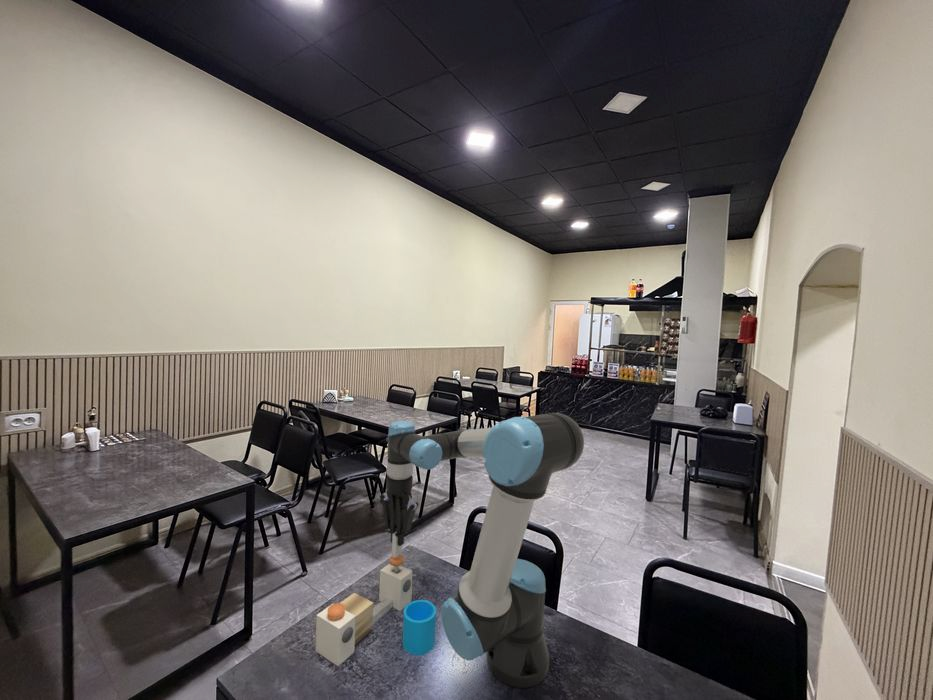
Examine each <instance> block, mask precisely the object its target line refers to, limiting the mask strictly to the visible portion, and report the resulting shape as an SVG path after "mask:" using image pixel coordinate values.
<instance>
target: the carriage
mask: <svg viewBox="0 0 933 700" xmlns="http://www.w3.org/2000/svg"><path fill="white" fill-rule="evenodd" d="M339 603H341V604H343V605H344V606H345V610H346V611H348V612H349V613H351V614H353V615H355V616H356V618H355V645H357V643H359V642H360V641H361V640H362V639H363V638H364V637H366V636H367V635H368V634H369V633H370V632H371V627H373V625H374V624H373V608H374V602H373V601H371V600H369V599H368V598H366V597H363V596H361V595H360V594H358V593H356V592H353V593H352V594H350V595H348V596H347V597H346V598H345V599H343V600H342V601H340V602H339Z"/></svg>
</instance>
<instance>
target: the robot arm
mask: <svg viewBox="0 0 933 700" xmlns="http://www.w3.org/2000/svg"><path fill="white" fill-rule="evenodd" d="M584 437H585V436H584V434H583V431H582V429H581V428H580V426H579V424H578V423H577V422H576V421H575V420H574V419H573V418H571V417H570V416H569V415H567V414H563V413H559V412H547V413H544V414H543V413H542V414H537V415H531V416H529V415H528V416H514V417H511V418H508V419H506V420H501V421H500V422H498V423H496V424H495V425H493V426H492V427H486V428H475V429H474V428H473V429H461V430H460V429H459V430H455V431H449V432H443V433H442V432H441V433H436V434H430V435H424V436H423V435H419V434H417V433H416V427H415V423H413V422H412V421H408V420H407V421H406V420H399V421H398V420H397V421H393V422H391V423H390V424H389V425H388V434H387V463H386V464H387V465H386V475H387V476H386V481H385V482H386V483H385V484H386V485H385V486H386V492H384V493H382V494H381V495H379V498H380V501H381V504H382V512H383V520H384V527H385V529H386V530H389V532H390V543H391V556H393V557H395V558H396V557H397V556H399V555H402V553H403V545H404V543H405V535H407V534H409V533H411V529H412V525H413V521H414V517H415V513H416V510H417V508H418V507H419V502H417V501H416V502H415V501H414V499H413V495H412V490H413V481H414V480H413V477H414V476H413V474H414V466H415V467H416V468H420V469H423V470H433V469H434V468H435V467H436V466H438V465H439V464H440V463H441V462H443V461H448V460H453V459H460V458H465V459H466V458H483V459H484V460H485V462H484V463H483V465H484V468H485V471H486V473H487V475H488V476H487V477H488V480H489V481H490V483H491V485H492V489H491V492H490V497H489V501H488V504H487V507H486V511H485V515H484V519H483V521H482V526H481V529H480V533H479V537H478V540H477V545H476V548H475V552H474V556H473V560H472V562H471V567H470V570H468V571H467V572H466V573H465V574H463V576H462V577H461V578H460V580H459V585H458V586H457V591H456V592H457V593H456V594H455V595H454V596H453V597H449V598H448V599H446V601H444V602H443V604H442V606H441V615H440V616H441V622H442V627H443V630H444V634H445V636H446V639H447V641H448V642H449V644H450V646H451V648H452V649H453V651H454V652H455V654H456V655H457V656H458V657H459V658H461V659H463V660H465V661H470V662H471V661H473V660H475V659H477V658H479V657H482V656H483V655H485V654H486V655H485V656H486V657H485V658H486V665H487V667H488V668H489V670H490V671H491V673H492V675H493V676H494V677H496V679H498V680H499V681H501V682H503V683H504V684H507V685H508V686H511V687H514V688H515V687H516V688H531V687H534V686H537V685H538V684H540V683H541V682H543V681H544V680H545V679H546V677H547V675H548V673H549V671H550V670H549V669H550V653H549V649H548V646H547V641H546V637H545V634H544V619H545V618H544V617H545V599H546V592H547V589H546V577H545V575H544V574H545V573H544V572H543V571H542V569H541V568H539V566H537V565H536V564H534V563H533V562H530V561H528V560H526V559H521V558H518V556H519V553H520V550H521V547H522V544H523V540H524V537H525V533H526V530H527V527H528V523H529V520H530V516H531V514H532V512H533V506H534V504H535V501H537V500H540V499H542V498H543V497H544V496H545V495H546V492H547V488H548V486H549V483H550V479H551V477H552V475H553V474H554V473H557V472H560V471H563V470H566V469H568V468H571V467H572V466H573V465H574V464H576V463H577V462H578V461H579V460H580V458H581V457H582V454H583V451H584V449H585V447H584V446H585V439H584Z"/></svg>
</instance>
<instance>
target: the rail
mask: <svg viewBox="0 0 933 700" xmlns="http://www.w3.org/2000/svg"><path fill="white" fill-rule="evenodd" d="M392 608H393V600H391V599H389V598H387V597H386V598H385V599H384V600H383V601H379V602H378V603H377V604H376V605H375V606H373V625H374V624H375V623H376V622H377V621H379V619H380V618H382V617H383V616H384V615H386V614H387V613H388V612H389V611H390V610H391V609H392Z"/></svg>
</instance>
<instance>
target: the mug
mask: <svg viewBox="0 0 933 700" xmlns="http://www.w3.org/2000/svg"><path fill="white" fill-rule="evenodd" d="M436 618H437V608H436V606H435V605H434V604H433V602H431V601H429V600H428V599H425V600H424V599H418V600H413V601H411V602H410V603H409V604H408V605H406V606H405V607H404V608H403V619H402V621H403V624H402V625H403V626H402V647H403V649H404V651H405V652H406V653H408V654H409V655H414V656H422V655H425V654H427V653H429V652H430V651H431V650H432V649H433V648H434V646H435V643H436V623H437V621H436Z"/></svg>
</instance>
